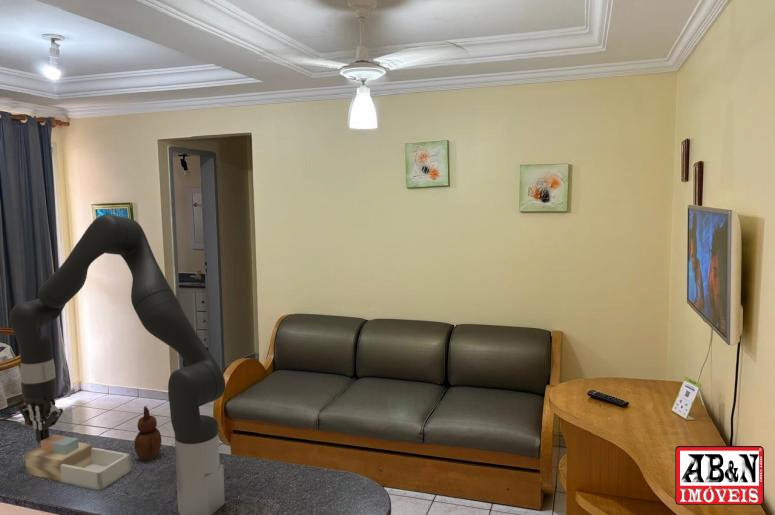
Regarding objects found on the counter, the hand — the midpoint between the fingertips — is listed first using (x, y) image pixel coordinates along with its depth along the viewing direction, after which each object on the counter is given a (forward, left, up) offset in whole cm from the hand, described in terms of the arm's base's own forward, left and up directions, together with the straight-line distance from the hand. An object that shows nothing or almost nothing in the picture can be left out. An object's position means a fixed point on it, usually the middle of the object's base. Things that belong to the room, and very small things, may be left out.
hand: (42, 441), depth 143 cm
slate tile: (-8, 0, -1) cm, 8 cm away
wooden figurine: (-22, -13, -7) cm, 26 cm away
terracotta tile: (-4, 0, -1) cm, 4 cm away
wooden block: (-5, 0, -7) cm, 8 cm away
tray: (-17, 0, -7) cm, 18 cm away
